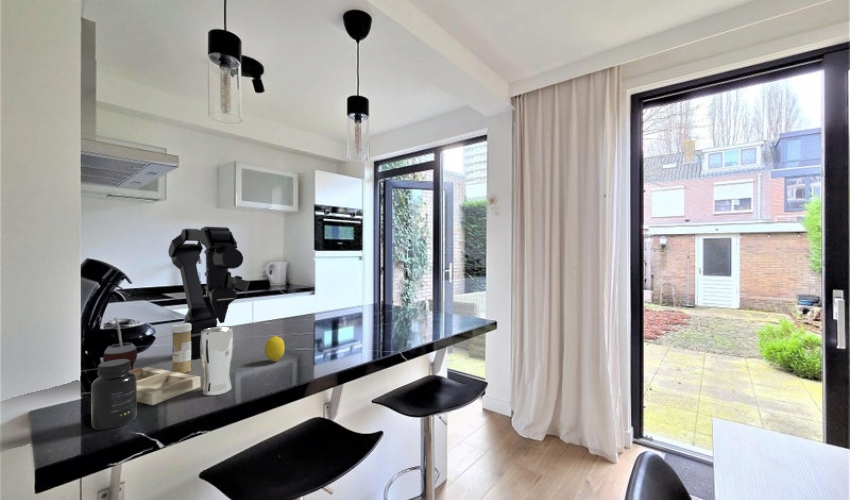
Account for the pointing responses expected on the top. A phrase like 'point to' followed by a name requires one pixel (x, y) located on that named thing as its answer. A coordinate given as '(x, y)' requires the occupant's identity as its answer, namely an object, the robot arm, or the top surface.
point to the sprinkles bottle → (181, 347)
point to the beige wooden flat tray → (162, 384)
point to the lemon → (274, 348)
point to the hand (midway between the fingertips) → (218, 320)
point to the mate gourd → (121, 350)
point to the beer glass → (216, 359)
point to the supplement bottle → (113, 395)
